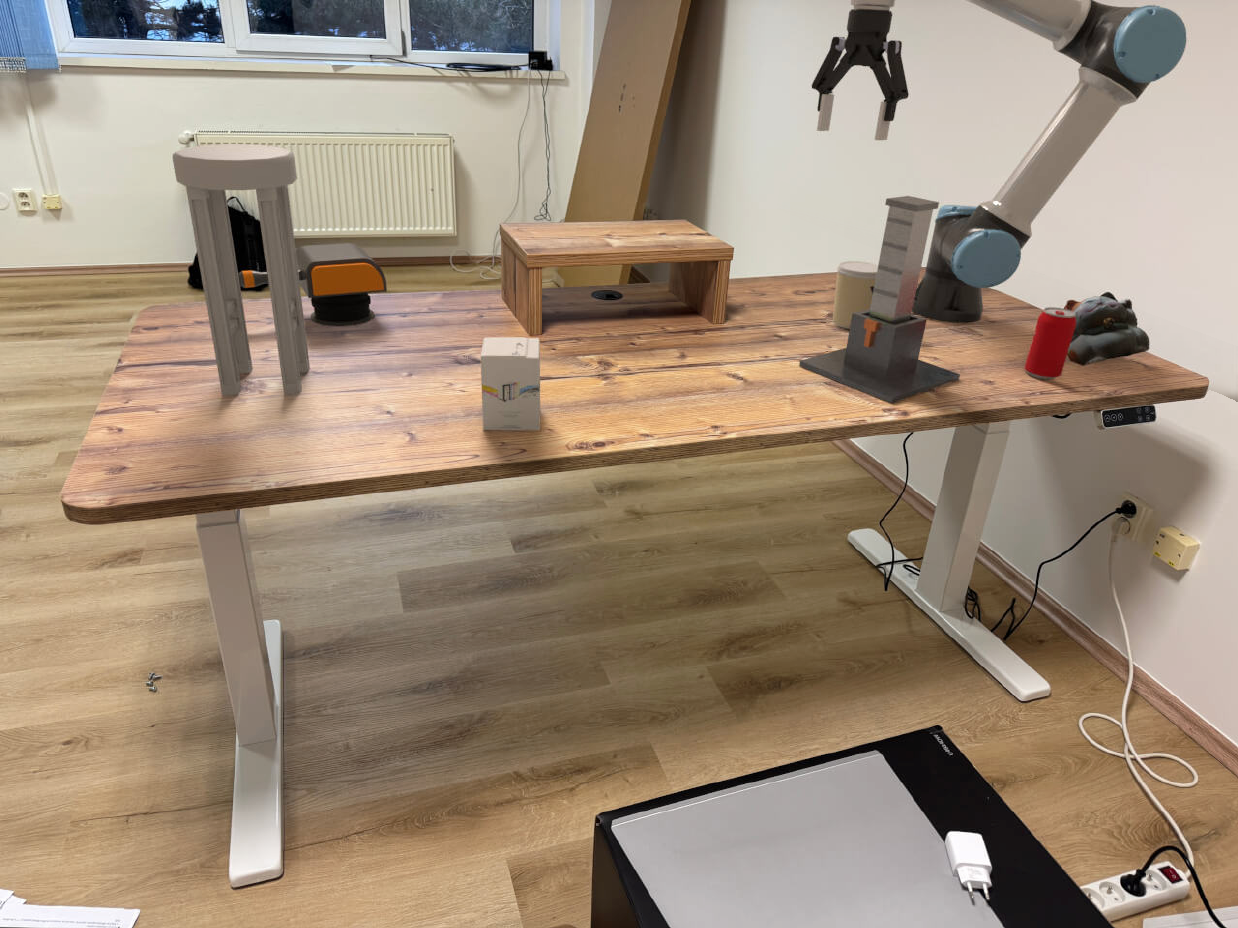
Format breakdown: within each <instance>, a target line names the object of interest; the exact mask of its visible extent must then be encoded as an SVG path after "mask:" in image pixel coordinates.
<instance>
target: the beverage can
mask: <svg viewBox="0 0 1238 928" xmlns="http://www.w3.org/2000/svg"><path fill="white" fill-rule="evenodd" d="M1075 326H1076V318H1075V313H1074V312H1073V311H1070V310H1067V309H1064V308H1063V307H1055V306H1054V307H1052V306H1051V307H1050V306H1049V307H1048V306H1047V307H1045V308H1044V309H1043V311H1042V312H1041V313H1040V314H1039V316H1038V318H1037V321H1036V324H1035V329H1034V333H1033V336H1032V339H1031V343H1030V347H1029V351H1028V354H1027V358H1026V361H1025V365H1024V370H1025V371H1026V372H1027V374H1028V375H1030V376H1031V377H1032V378H1033V377H1034V378H1036V379H1040V380H1041V379H1042V380H1054V379H1057V378H1060V376H1062V373H1063V369H1064V366H1065V363H1066V359H1067V358H1068V357H1067V353H1068V350H1069V346H1070V343H1071V340H1072V336H1073V333H1074V330H1075Z"/></svg>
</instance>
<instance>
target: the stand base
mask: <svg viewBox="0 0 1238 928" xmlns="http://www.w3.org/2000/svg"><path fill="white" fill-rule="evenodd" d="M869 312H870V309H868V310H864V311H860V312H856V313H853V314H852V320H851V325H850V329H849V331H848V338H847V341H846V342H847V343H846V347H845V348H841V349H837V350H834V351H830V352H826V353H823V354H819V355H816V356H813V357H808V358H805V359H801V360H799V365H798V366H799V367H801V368H804V369H806V370H807V371H811V372H813V373H816V374H818V375H821V376H823V377H826V378H828V379H830V380H833V381H836V382H838V383H841V384H843V385H845V386H847V387H850V388H852V389H855V390H858V391H859V392H863V393H865V394H867V395H870V396H873V397H875V398H877V399H880V400H882V401H885V402H886V403H890V404H893V403H897V402H899V401H902V400H905V399H908V398H911V397H913V396H916V395H919V394H922V393H925V392H928V391H930V390H934V389H936V388H939V387H941V386H944V385H947V384H950V383H953V382H956V381H959V380H960V376H961V374H959V373H957V372H955V371H951V370H949V369H946V368H943V367H940V366H938V365H936V364H935V365H934V364H932V363H930V362H926V361H924V360H920V359H919V356H920V352H921V349H922V343H923V338H924V334H925V330H926V329H925V328H926V325H927V321H928V320H927V319H928V318H925V317H922V316H919V315H916V314H912V313H911V317H910V321H908V322H904V323H900V324H897V325H892V324H889V323H886V322H883V321H880V320H877V319H874V318H871V317H869Z"/></svg>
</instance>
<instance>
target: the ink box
mask: <svg viewBox="0 0 1238 928" xmlns="http://www.w3.org/2000/svg"><path fill="white" fill-rule="evenodd" d="M482 342H483V343H482V346H481V347H482V348H481V351H480V376H481V382H480V383H481V405H482V407H481V408H482V410H481V411H482V430H483V431H540V428H541V427H540V426H541V425H540V423H541V422H540V421H541V420H540V417H541V416H540V415H541V414H540V413H541V359H540V357H541V356H540V354H541V353H540V349H541V348H540V338H539V337H532V338H531V337H528V338H527V337H524V336H523V337H520V336H510V337H509V336H508V337H507V336H506V337H484V338H483V341H482Z"/></svg>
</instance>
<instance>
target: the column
mask: <svg viewBox="0 0 1238 928" xmlns="http://www.w3.org/2000/svg"><path fill="white" fill-rule="evenodd" d="M939 204H940V202H939V201H933V200H930V199H924V198H921V197H915V196H910V195H905V196H904V195H903V196H897V197H895V196H894V197H889V198H886V199H885V206H888V211H887V216H886V217H887V218H886V222H885V228H884V234H883V239H882V242H881V243H882V244H881V249H880V253H879V254H880V255H879V260H878V264H877V265H878V270H877V275H876V280H875V285H874V291H873V296H872V301H871V307H870V312H869V317H871V318H874V319H877V320H880V321H883V322H886V323H889V324H892V325H897V324H900V323H904V322H908V321H910V317H911V314H912V313H913V312H912V308H913V303H914V298H915V293H916V289H917V287H918V285H919V283H918V282H919V279H920V278H919V277H920V273H921V268H922V263H923V259H924V254H925V251H926V245H927V240H928V236H929V231H930V228H931V227H930V226H931V222H932V218H933V211H934V210H937V209H938V210H939Z"/></svg>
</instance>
